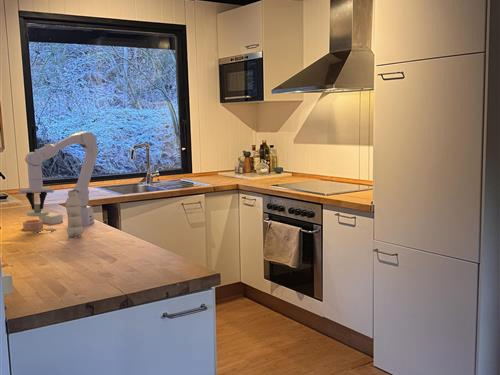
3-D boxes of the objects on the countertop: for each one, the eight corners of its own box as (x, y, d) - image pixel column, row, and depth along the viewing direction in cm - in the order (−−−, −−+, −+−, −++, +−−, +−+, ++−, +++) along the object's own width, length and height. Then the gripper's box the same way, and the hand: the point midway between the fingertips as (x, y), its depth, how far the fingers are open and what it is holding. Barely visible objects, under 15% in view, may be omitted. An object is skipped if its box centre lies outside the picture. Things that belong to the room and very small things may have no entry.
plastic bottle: (85, 235, 227) (82, 189, 224) (80, 238, 220) (77, 191, 218) (70, 235, 227) (67, 189, 224) (65, 239, 220) (62, 192, 217)
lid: (53, 213, 238) (52, 203, 238) (38, 216, 230) (37, 206, 229) (37, 212, 242) (37, 202, 241) (22, 215, 233) (21, 205, 233)
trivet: (61, 229, 238) (60, 228, 238) (48, 235, 228) (48, 233, 228) (41, 229, 240) (41, 228, 240) (27, 234, 230) (27, 233, 230)
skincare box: (49, 211, 260) (62, 214, 252) (50, 219, 261) (63, 223, 253) (38, 213, 255) (51, 216, 248) (38, 222, 256) (51, 225, 248)
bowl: (46, 227, 244) (45, 219, 243) (35, 231, 236) (35, 223, 236) (30, 226, 245) (30, 219, 245) (20, 230, 238) (19, 223, 237)
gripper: (54, 177, 239) (56, 206, 241) (20, 178, 237) (23, 208, 239) (51, 179, 232) (53, 209, 234) (16, 180, 230) (18, 211, 232)
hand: (37, 209), depth 236 cm, fingers closed on lid, 3 cm apart
